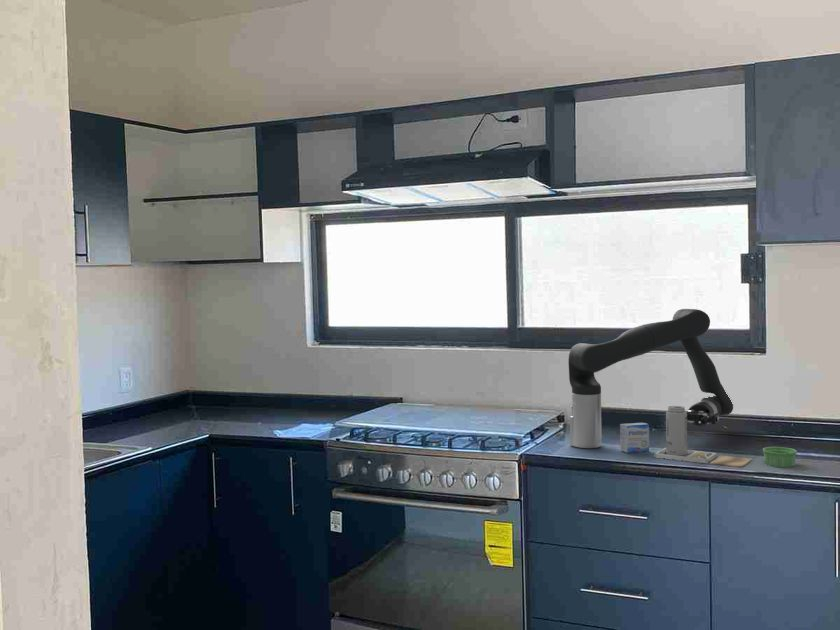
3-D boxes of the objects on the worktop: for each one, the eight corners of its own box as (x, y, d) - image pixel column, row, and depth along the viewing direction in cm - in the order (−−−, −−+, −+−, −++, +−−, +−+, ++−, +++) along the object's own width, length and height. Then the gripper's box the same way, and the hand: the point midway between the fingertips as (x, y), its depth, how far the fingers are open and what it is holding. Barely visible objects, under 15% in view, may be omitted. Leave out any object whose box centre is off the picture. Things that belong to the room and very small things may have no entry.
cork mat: (710, 464, 242) (710, 462, 242) (720, 456, 251) (720, 455, 251) (742, 467, 237) (742, 466, 237) (751, 460, 246) (751, 458, 246)
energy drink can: (664, 454, 256) (664, 405, 255) (685, 454, 255) (685, 405, 255) (667, 458, 250) (667, 408, 250) (688, 458, 249) (688, 408, 249)
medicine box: (626, 453, 258) (626, 425, 258) (619, 450, 262) (619, 423, 262) (649, 451, 260) (649, 424, 260) (642, 448, 264) (641, 421, 264)
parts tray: (654, 457, 251) (654, 453, 251) (665, 451, 260) (665, 447, 260) (706, 463, 243) (706, 458, 242) (716, 456, 251) (716, 452, 251)
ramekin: (757, 465, 240) (757, 450, 240) (770, 460, 246) (770, 445, 246) (789, 469, 233) (789, 454, 233) (801, 464, 240) (801, 449, 240)
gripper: (681, 400, 279) (665, 407, 265) (725, 403, 271) (711, 410, 257) (681, 422, 279) (665, 430, 266) (725, 426, 271) (711, 434, 258)
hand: (688, 420), depth 261 cm, fingers open, 8 cm apart
